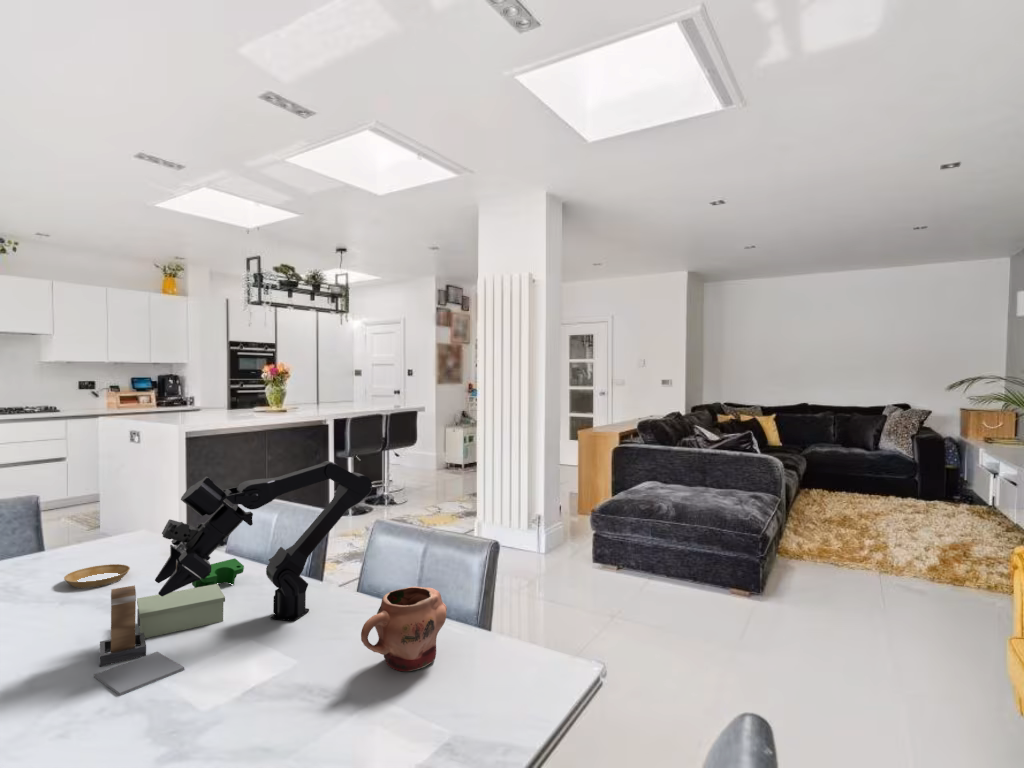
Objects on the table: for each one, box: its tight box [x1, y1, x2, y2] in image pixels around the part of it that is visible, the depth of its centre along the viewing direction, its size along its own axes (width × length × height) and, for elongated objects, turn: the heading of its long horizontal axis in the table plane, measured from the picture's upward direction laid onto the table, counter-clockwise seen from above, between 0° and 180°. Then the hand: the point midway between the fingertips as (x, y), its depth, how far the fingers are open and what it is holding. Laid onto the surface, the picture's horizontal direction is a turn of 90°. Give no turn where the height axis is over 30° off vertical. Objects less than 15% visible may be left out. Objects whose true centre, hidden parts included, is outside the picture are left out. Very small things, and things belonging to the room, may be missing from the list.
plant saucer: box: [63, 563, 131, 589], centre depth 155 cm, size 15×15×3 cm
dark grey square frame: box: [99, 632, 147, 667], centre depth 115 cm, size 8×8×2 cm
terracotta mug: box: [360, 586, 448, 672], centre depth 112 cm, size 20×12×14 cm, turn 144°
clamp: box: [191, 558, 245, 588], centre depth 153 cm, size 12×6×9 cm, turn 138°
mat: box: [93, 651, 185, 697], centre depth 107 cm, size 11×11×1 cm
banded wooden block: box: [110, 584, 137, 652], centre depth 115 cm, size 4×4×13 cm
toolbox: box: [136, 584, 226, 639], centre depth 130 cm, size 17×11×6 cm, turn 126°
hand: (158, 588), depth 118 cm, fingers open, 9 cm apart
